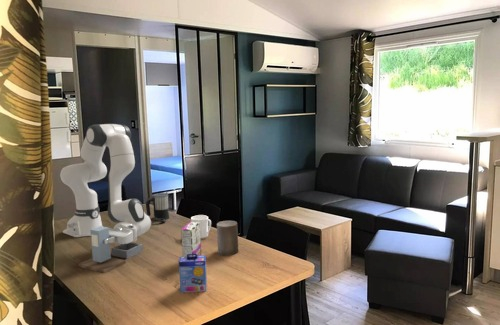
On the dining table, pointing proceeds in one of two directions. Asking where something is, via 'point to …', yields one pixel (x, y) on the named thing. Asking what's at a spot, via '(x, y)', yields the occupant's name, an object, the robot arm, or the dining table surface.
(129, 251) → the gray bin
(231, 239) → the pillar candle
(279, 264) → the dining table surface
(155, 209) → the milk frother
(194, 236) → the candy bar box
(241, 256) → the dining table surface
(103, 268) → the walnut board
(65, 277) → the dining table surface
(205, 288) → the ink cartridge box
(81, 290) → the dining table surface
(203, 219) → the mug
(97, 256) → the slate box
